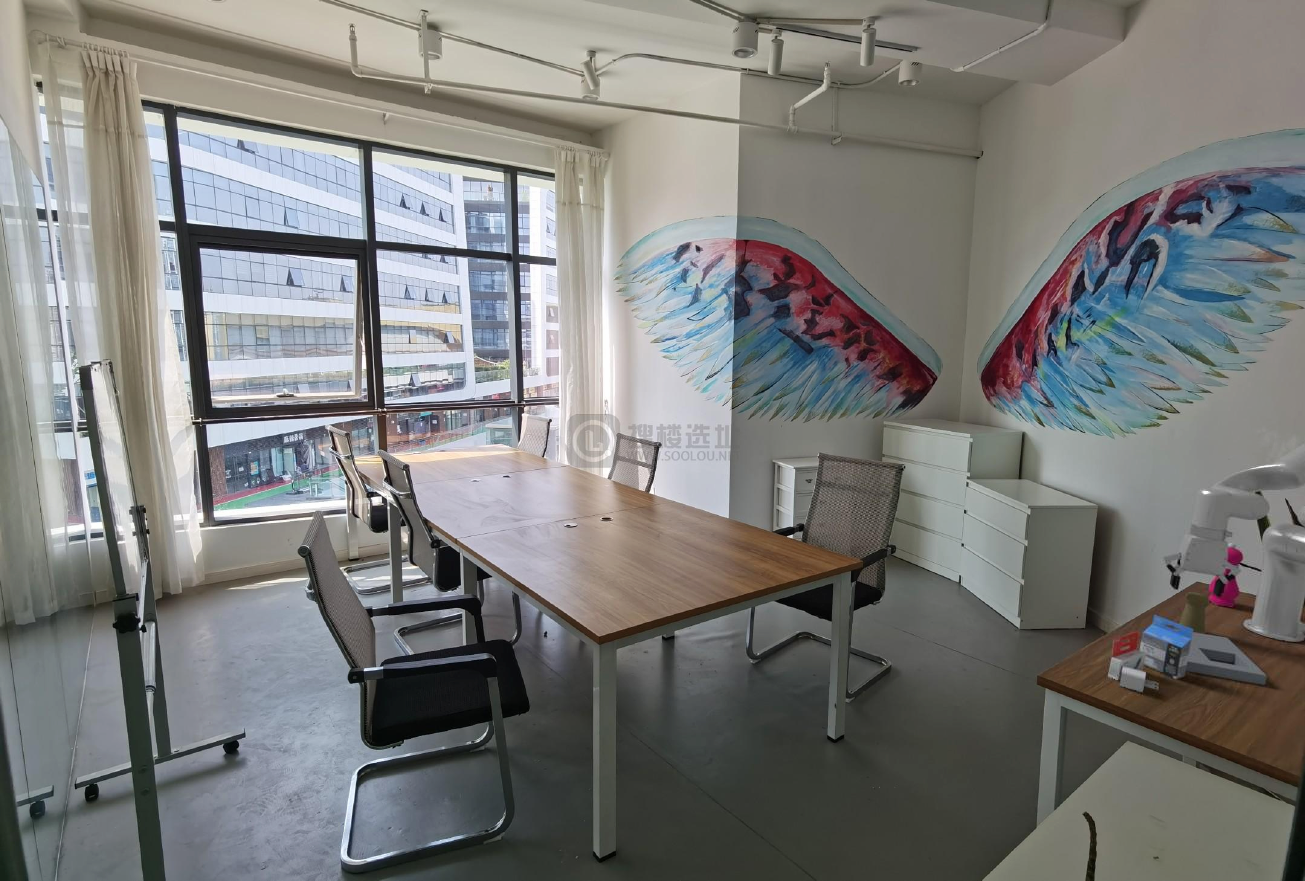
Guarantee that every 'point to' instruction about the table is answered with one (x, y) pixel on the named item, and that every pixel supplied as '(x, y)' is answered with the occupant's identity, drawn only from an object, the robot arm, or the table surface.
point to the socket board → (1221, 659)
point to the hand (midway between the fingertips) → (1195, 591)
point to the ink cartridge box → (1125, 656)
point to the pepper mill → (1231, 587)
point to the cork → (1194, 612)
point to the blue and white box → (1166, 647)
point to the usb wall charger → (1135, 679)
